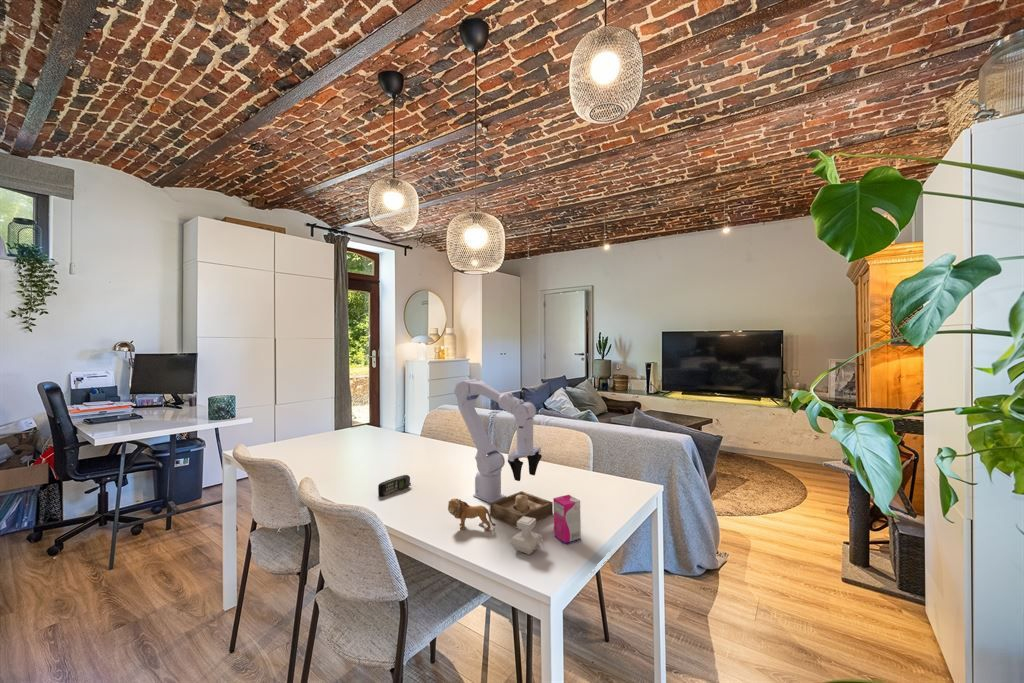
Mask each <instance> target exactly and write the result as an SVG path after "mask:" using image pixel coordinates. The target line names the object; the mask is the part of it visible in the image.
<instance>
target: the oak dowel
mask: <svg viewBox="0 0 1024 683" xmlns="http://www.w3.org/2000/svg"><path fill="white" fill-rule="evenodd" d="M516 510H517V511H526V510H528V496H526V495H517V496H516Z"/></svg>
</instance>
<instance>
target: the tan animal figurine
mask: <svg viewBox="0 0 1024 683" xmlns="http://www.w3.org/2000/svg"><path fill="white" fill-rule="evenodd" d="M447 510H448V513H449V514H450V515H452V516H453V517H454V518H455V519H459V521H460V523H459V526H460V527H459V530H461V531H462V530H464V529H465V527H466V524H465V522H466V519H469V520H470V519H475V518H477V517H479V519H480V521H481V522H479V524H478V526H481V527H482V526H484V524H485V525H486V526H487V527H486V528H485V530H486V531H490V530H491V525H492V527H496V526H497V525H496V523H494V522H493V520H492V516H490V510H488V509H487V507H486V506H483V505H474V506H473V505H469V504H468V503H467V502H466V501H463V500H462V499H459V498H451V499H450V500H449V501H448V505H447ZM487 517H488V518H487ZM488 519H489V520H488Z"/></svg>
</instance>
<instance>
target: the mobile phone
mask: <svg viewBox="0 0 1024 683" xmlns="http://www.w3.org/2000/svg"><path fill="white" fill-rule="evenodd" d="M410 485H412V482H411V477H410V476H409V475H408V474H403V475H399V476H396V477H394V478H390V479H387V480H384V481H382V482H380V483H379V484H378V485H377V487H378V488H377V491H378V492H377V493H378V494H377V495H378V497H380V498H381V497H385V496H388V495H390V494H394V493H398V492H400V491H402V490H405V489H406V488H407V487H409V486H410Z"/></svg>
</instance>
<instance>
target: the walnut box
mask: <svg viewBox="0 0 1024 683" xmlns="http://www.w3.org/2000/svg"><path fill="white" fill-rule="evenodd" d="M517 495H526V496H528V510H526V511H517V510H516V496H517ZM489 508H490V509H489V513H490V517H491V518H492V517H493V518H495V519H497V520H499V521H501V522H503V523H504V524H508V525H510V526H512V527H515V528H517V529H518V526H517V521H518V520H519V519H521V518H522V517H523V516H525V517H530V518H534V519H536V523H538V522H540V521H542V520H544V519H546V518H549V517H551V516H552V515H553V516H554V502H552V501H550V500H547V499H544V498H542V497H538V496H536V495H533V494H531V493H527V492H525V491H518V492H516V493H513V494H510V495H508V496H506V497H505V498H502V499H499V500H497V501H494V502H492V503H489ZM520 530H521V531H522V529H520Z"/></svg>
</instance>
